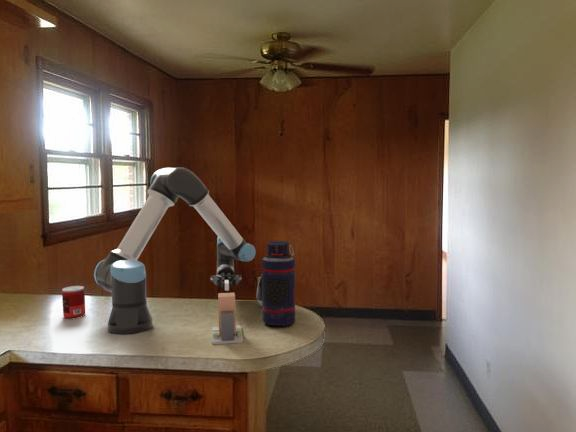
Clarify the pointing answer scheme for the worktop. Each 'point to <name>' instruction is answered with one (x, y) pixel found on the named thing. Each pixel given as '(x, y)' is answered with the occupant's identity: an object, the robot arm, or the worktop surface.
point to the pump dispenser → (259, 291)
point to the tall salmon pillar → (226, 308)
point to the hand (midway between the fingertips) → (226, 287)
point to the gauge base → (217, 340)
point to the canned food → (73, 302)
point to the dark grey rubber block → (227, 326)
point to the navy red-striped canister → (278, 285)
